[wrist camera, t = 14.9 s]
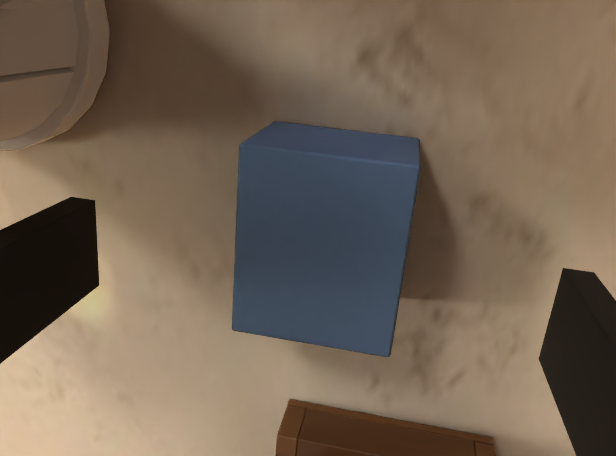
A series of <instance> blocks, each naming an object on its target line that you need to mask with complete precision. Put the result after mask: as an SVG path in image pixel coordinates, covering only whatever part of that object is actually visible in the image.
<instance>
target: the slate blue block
mask: <svg viewBox="0 0 616 456" xmlns="http://www.w3.org/2000/svg"><path fill="white" fill-rule="evenodd" d="M420 169H421V166H420V140H419V139H418V138H412V137H404V136H395V135H387V134H378V133H370V132H361V131H353V130H344V129H336V128H327V127H319V126H310V125H302V124H293V123H285V122H276V121H274V122H272V123H271V124H269V125H268V126H266V127H265V128H263V129H262V130H260V131H259V132H257V133H256V134H254V135H253V136H251V137H250V138H248V139H247V140H245V141H244V142H242V143H241V144H240V145H239V163H238V189H237V214H236V239H235V264H234V289H233V314H232V330H234V331H239V332H245V333H251V334H256V335H262V336H268V337H273V338H279V339H285V340H291V341H296V342H302V343H308V344H314V345H319V346H325V347H331V348H336V349H342V350H348V351H354V352H359V353H365V354H371V355H377V356H382V357H389V356H390V355H391V349H392V343H393V337H394V330H395V324H396V318H397V312H398V306H399V299H400V293H401V287H402V281H403V275H404V268H405V262H406V256H407V250H408V244H409V237H410V231H411V225H412V219H413V213H414V206H415V200H416V194H417V188H418V182H419V175H420Z"/></svg>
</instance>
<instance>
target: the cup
mask: <svg viewBox="0 0 616 456" xmlns="http://www.w3.org/2000/svg"><path fill="white" fill-rule="evenodd" d="M109 34H110V29H109V24H108V18H107V13H106V8H105V2H104V0H0V151H3V150H20V149H23V148H27V147H30V146H33V145H36V144H39V143H42V142H44V141H46V140H48V139H51V138H53V137H55V136H57V135H59V134H62V133H64V132H66V131H68V130H69V129H70V128H71V127H72V126H73V125H74V124H75V123H76V122H77V121H78V120H79V119H80V118H81V117H82V116H83V115H84V114H85V112H86V111H87V110H88V109H89V108H90V107H91V106H92V104H93V101H94V99H95V97H96V94H97V92H98V90H99V87H100V85H101V83H102V80H103V78H104V76H105V73H106V67H107V56H108V45H109Z"/></svg>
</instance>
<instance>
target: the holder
mask: <svg viewBox="0 0 616 456" xmlns="http://www.w3.org/2000/svg"><path fill="white" fill-rule="evenodd" d="M276 456H496V452H495V447H494V440H493V438H491V437H486V436H481V435H476V434H470V433H465V432H460V431H455V430H449V429H444V428H439V427H434V426H428V425H423V424H418V423H412V422H407V421H402V420H397V419H391V418H386V417H381V416H376V415H370V414H365V413H360V412H355V411H349V410H344V409H339V408H333V407H328V406H323V405H318V404H312V403H307V402H302V401H297V400H291V399H290V400H289V402H288V405H287V408H286V411H285V414H284V417H283V420H282V422H281V425H280V428H279V431H278V434H277V443H276Z"/></svg>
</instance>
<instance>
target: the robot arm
mask: <svg viewBox="0 0 616 456" xmlns="http://www.w3.org/2000/svg"><path fill="white" fill-rule="evenodd" d="M98 286H99V271H98V251H97V230H96V209H95V200H89V199H82V198H75V197H70V198H68V199H66V200H63V201H61V202H59V203H57V204H55V205H53V206H51V207H49V208H46V209H44V210H42V211H40V212H38V213H36V214H34V215H31V216H29V217H27V218H25V219H23V220H21V221H19V222H17V223H14V224H12V225H10V226H8V227H6V228H4V229H2V230H0V363H1V362H3V361H4V360H5V359H7V358H8V357H9V356H10V355H12V354H13V353H14V352H15V351H17V350H18V349H19V348H20V347H22V346H23V345H24V344H26V343H27V342H28V341H29V340H31V339H32V338H33V337H34V336H36V335H37V334H38V333H39V332H41V331H42V330H43V329H44V328H46V327H47V326H48V325H50V324H51V323H52V322H53V321H55V320H56V319H57V318H58V317H60V316H61V315H62V314H63V313H65V312H66V311H67V310H68V309H70V308H71V307H72V306H74V305H75V304H76V303H77V302H79V301H80V300H81V299H82V298H84V297H85V296H86V295H87V294H89V293H90V292H91V291H92V290H94V289H95V288H96V287H98ZM539 361H540V363H541V366H542V368H543V371H544V374H545V376H546V379H547V381H548V384H549V386H550V389H551V392H552V394H553V397H554V399H555V402H556V404H557V407H558V410H559V412H560V415H561V417H562V420H563V422H564V425H565V428H566V430H567V433H568V435H569V438H570V440H571V443H572V446H573V448H574V451H575V453H576V456H616V301H615V299H614V298H613V297H612V295H611V294H610V293H609V291H608V290H607V289H606V288H605V286H604V285H603V284H602V282H601V281H600V280H599V278H598V277H597V276H596V274H595V273H593V272H586V271H579V270H573V269H566V268H563V270H562V274H561V278H560V282H559V285H558V289H557V293H556V296H555V300H554V304H553V308H552V311H551V315H550V319H549V323H548V326H547V330H546V334H545V337H544V341H543V345H542V349H541V352H540V356H539Z"/></svg>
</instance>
